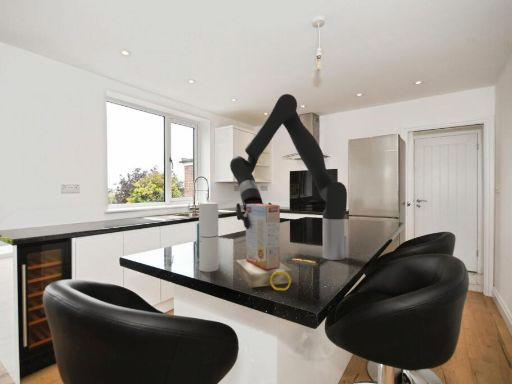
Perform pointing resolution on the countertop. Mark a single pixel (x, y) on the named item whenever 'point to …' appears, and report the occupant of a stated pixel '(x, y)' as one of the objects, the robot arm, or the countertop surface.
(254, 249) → the cracker box
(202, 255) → the cylindrical container
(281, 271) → the yellow ring
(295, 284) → the countertop surface
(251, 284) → the oak plinth
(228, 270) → the countertop surface
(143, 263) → the countertop surface
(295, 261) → the countertop surface
